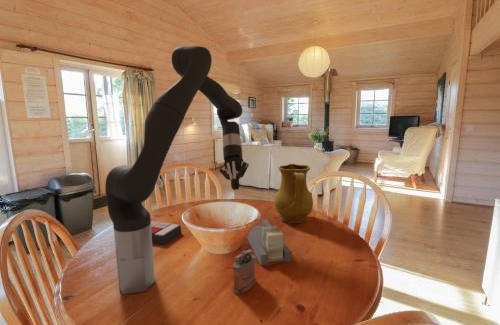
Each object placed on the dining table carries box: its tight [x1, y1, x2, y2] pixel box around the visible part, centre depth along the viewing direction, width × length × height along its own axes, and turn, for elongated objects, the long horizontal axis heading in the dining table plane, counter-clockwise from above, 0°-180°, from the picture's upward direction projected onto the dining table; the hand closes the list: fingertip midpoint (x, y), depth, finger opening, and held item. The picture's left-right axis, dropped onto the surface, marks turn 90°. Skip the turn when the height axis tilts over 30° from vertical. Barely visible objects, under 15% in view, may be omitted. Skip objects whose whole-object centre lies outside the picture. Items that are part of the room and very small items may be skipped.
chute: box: [246, 219, 292, 266], centre depth 99 cm, size 28×10×4 cm, turn 13°
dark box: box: [151, 221, 182, 246], centre depth 106 cm, size 11×4×15 cm
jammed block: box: [262, 225, 284, 260], centre depth 88 cm, size 7×5×8 cm
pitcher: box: [274, 163, 314, 224], centre depth 120 cm, size 17×19×25 cm
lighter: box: [232, 249, 257, 295], centre depth 73 cm, size 8×3×10 cm, turn 141°
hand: (235, 189), depth 102 cm, fingers closed
